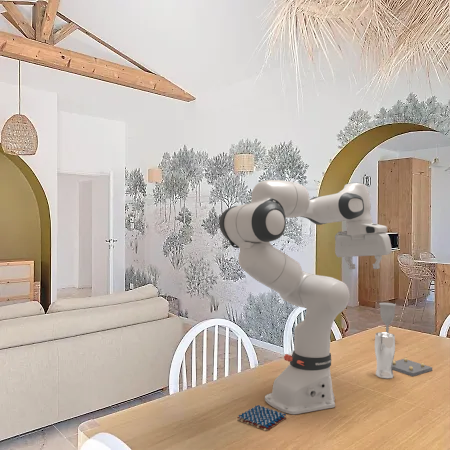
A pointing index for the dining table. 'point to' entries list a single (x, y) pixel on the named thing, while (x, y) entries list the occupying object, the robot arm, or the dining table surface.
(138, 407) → the dining table surface
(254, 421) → the woven mat
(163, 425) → the dining table surface
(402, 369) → the coaster
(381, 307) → the chalice
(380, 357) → the beer glass
